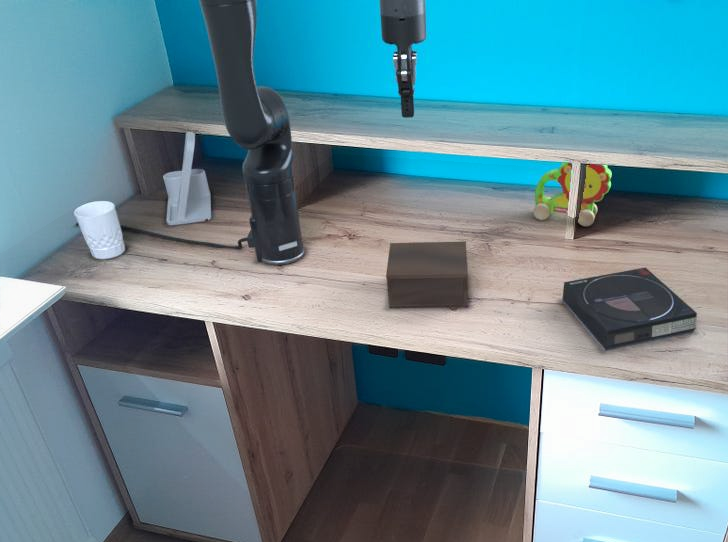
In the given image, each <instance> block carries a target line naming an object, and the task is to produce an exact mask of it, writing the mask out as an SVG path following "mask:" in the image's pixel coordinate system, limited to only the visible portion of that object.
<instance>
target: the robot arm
mask: <svg viewBox="0 0 728 542" xmlns="http://www.w3.org/2000/svg"><path fill="white" fill-rule="evenodd" d="M198 1H199V7H200V9H201V13H202V16H203V20H204V24H205V28H206V33H207V36H208V41H209V45H210V50H211V54H212V59H213V63H214V68H215V73H216V78H217V86H218V93H219V99H220V107H221V113H222V118H223V122H224V127H225V128H226V131H227V133H228V135H229V137H230V138H231V139H232V140H233V142H234V143H235V144H236V145H238V146H239V147H240V148H242V149H245V150H247V154H246V156H245V159H244V161H243V163H242V167H241V168H242V174H243V175H242V176H243V179H244V184H245V191H246V194H247V199H248V204H249V209H250V214H251V215H250V217H249V220H248V221H249V226H250V230H249V232H248V235H247V236H246V237H243V238H239V240H238V241H237V245H234V246H232V245H224V244H218V243H214V242H208V241H200V240H192V239H185V238H180V237H175V236H170V235H165V234H162V233H156V232H152V231H148V230H145V229H140V228H136V227H132V226H127V225H121V224H120V227H121V230H126V231H132V232H134V233H135V232H136V233H141V234H143V235H147V236H148V235H149V236H152V237H156V238H161V239H165V240H170V241H174V242H179V243H183V244H184V243H185V244H190V245H199V246H205V247H213V248H219V249H230V250H231V249H232V250H240V249H242V248H243V243H244V242H247V246H248V249H253V248H254V250H255V255H256V260H257V263H264V264H266V265H271V266H283V265H289V264H292V263H295V262H297V261H299V260H301V259H303V257H304V256H305V253H306V250H305V246H304V241H303V240H304V239H303V234H302V227H301V222H300V214H299V209H298V202H297V197H296V195H297V194H296V190H295V183H294V178H293V170H292V163H293V158H294V149H293V148H294V147H293V139H292V129H291V120H290V116H289V111H288V108H287V105H286V103H285V101H284V99H283V97H282V96H281V95H280V94H279V93H278V92H277V91H276V90H274V89H273V88H271V87H268V86H264V85H263V86H262V85H261V86H260V85H259V86H258V84H257V79H256V72H255V63H254V62H255V60H254V59H255V49H256V48H255V47H256V41H257V40H256V39H257V31H258V18H259V17H258V16H259V15H258V13H259V12H258V1H257V0H198ZM378 1H379V15H380V28H381V41H382V42H383V43H384V44H387V45H391V46H392V45H394V46H396V50H395V51H393V55H392V63H393V64H392V65H393V67H394V69H395V70H394V72H395V82H396V84H397V89H398V90H397V93H398V96H399V97H400V109H401V117H402V118H404V119H406V118H413V117H414V116H415V96H414V95H415V91H416V88H415V85H416V81H417V63H418V62H417V61H418V51H417V50H413V45H417V44H418V45H419V44H420V43H423V42H425V41H426V40H427V11H426V10H427V9H426V0H378ZM75 226H76V227H78V226H79V224H78V222H77V221H76V224H75Z"/></svg>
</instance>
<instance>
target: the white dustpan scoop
mask: <svg viewBox="0 0 728 542" xmlns="http://www.w3.org/2000/svg"><path fill="white" fill-rule="evenodd" d="M195 143H196V132H195V133H193V132H187V133H186V132H185V139H184V149H183V159H182V168H181V170H175V171H169V172H166V173H165V174H163V176H162V179H163V182H164V186H165V190H166V193H167V207H166V208H167V209H166V219H165V221H166V224H167V226H177V225H178V226H179V225H184V224H191V223H199V222H200V223H201V222H205V221H206V220H208V221H210V220H211V219H212V201H211V200H212V199H211V197H212V196H211V191H210V187H209V183H208V179H207V178H208V177H207V175H206V171H205V170H204V169H202V168H192V167H193V159H194V154H195V153H194V152H195Z"/></svg>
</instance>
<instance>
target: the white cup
mask: <svg viewBox="0 0 728 542" xmlns="http://www.w3.org/2000/svg"><path fill="white" fill-rule="evenodd" d="M73 215H74V218H75V220H76V223H77V222H78V224H79V229H80V231H81V234H82V236H83V238H84V240H85V242H86V244H87V246H88V249H89V251H90V254H91V256H92V257H93V258H94V259H96V260H97V259H98V260H109V259H112V258H116V257H118V256H120V255H122V254H123V253H124V252H125V251H126V245H125V241H124V236H123V231H122V229H121V227H120V225H121V224H120V220H119V217H118V213H117V209H116V206H115V203H113V202H111V201H107V200H97V201H91V202H88V203H84V204H81V205H80V206H78V207H76V208H75V210H74V211H73Z"/></svg>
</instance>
